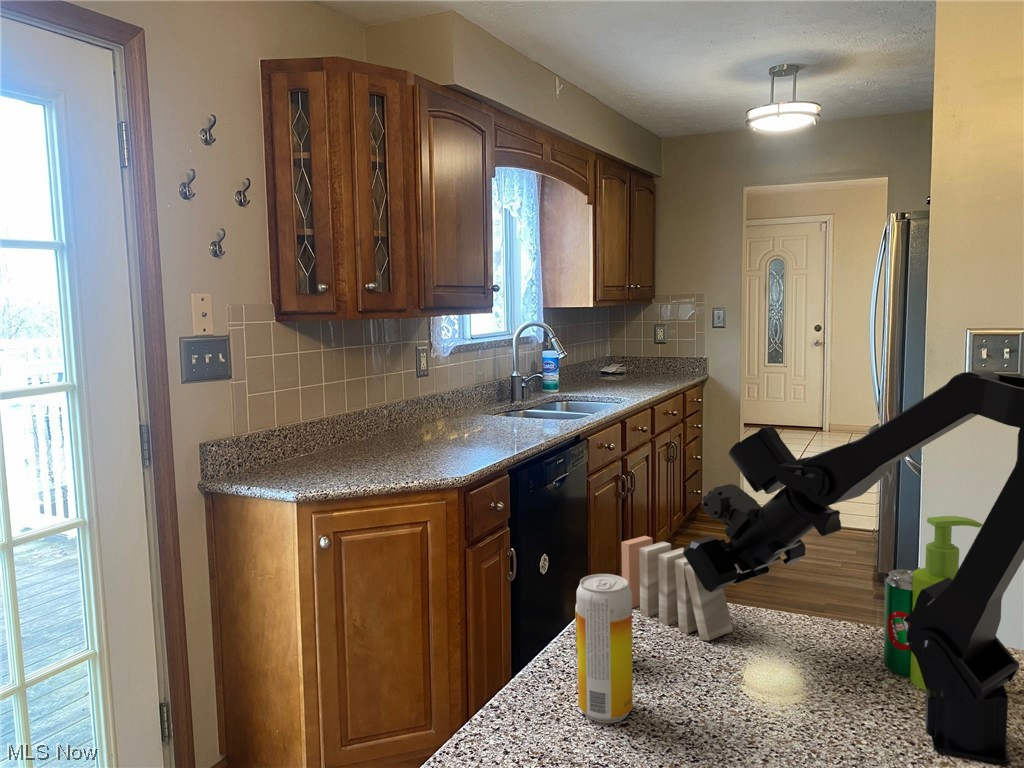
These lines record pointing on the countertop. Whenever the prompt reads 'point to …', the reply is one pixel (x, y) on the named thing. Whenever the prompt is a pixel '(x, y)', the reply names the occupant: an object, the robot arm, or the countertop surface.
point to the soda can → (897, 621)
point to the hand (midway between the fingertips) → (710, 582)
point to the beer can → (604, 647)
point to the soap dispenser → (937, 568)
